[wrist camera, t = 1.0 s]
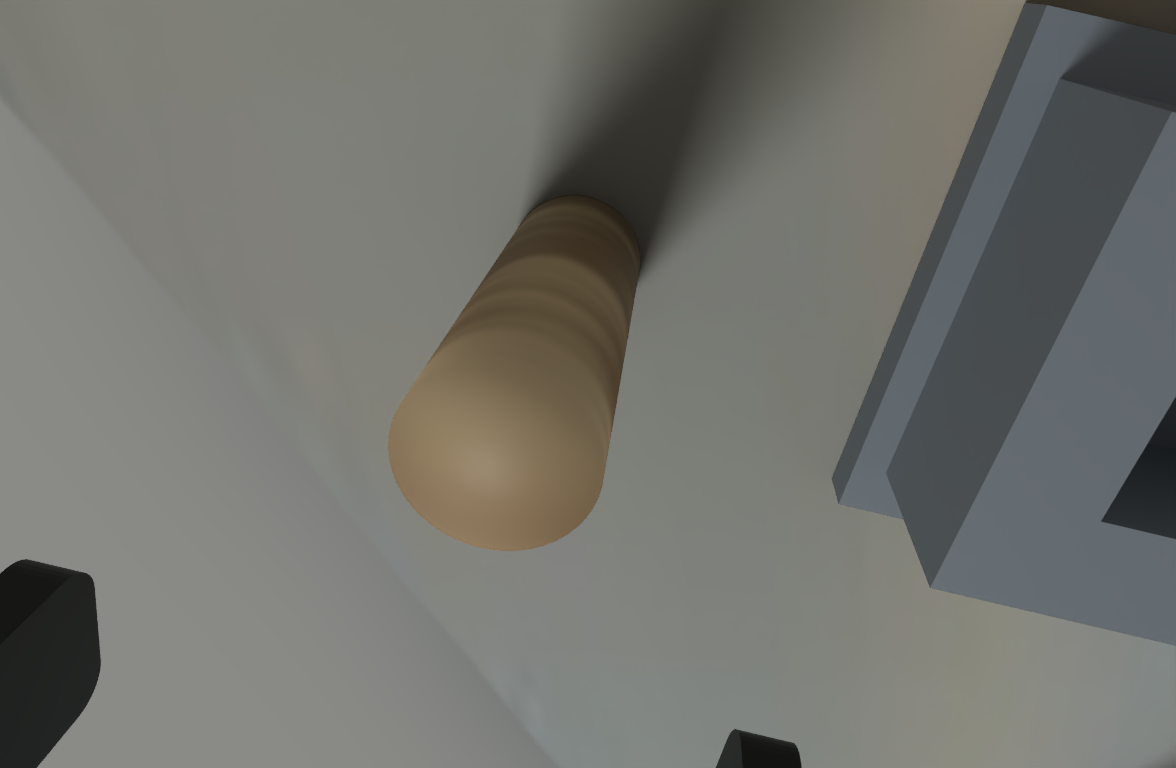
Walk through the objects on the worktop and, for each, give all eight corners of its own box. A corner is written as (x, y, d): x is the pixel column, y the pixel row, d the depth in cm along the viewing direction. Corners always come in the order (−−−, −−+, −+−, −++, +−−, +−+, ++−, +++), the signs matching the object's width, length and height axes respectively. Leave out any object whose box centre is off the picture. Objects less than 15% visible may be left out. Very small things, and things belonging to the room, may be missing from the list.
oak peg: (523, 181, 25) (399, 339, 14) (653, 212, 25) (626, 392, 14) (502, 303, 27) (379, 523, 16) (624, 331, 27) (580, 571, 16)
